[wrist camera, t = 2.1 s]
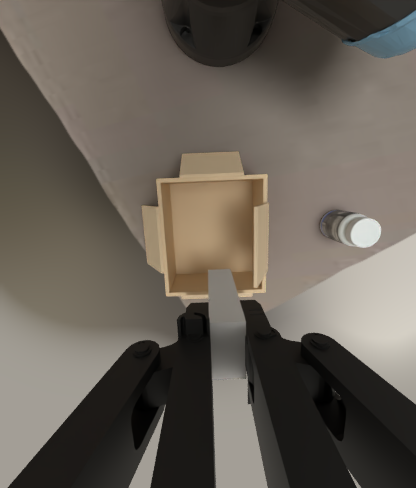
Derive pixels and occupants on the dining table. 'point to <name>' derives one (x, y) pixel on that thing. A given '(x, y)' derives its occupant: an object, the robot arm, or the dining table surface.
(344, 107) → the dining table surface
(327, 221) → the pill bottle
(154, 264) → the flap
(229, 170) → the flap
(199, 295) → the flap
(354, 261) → the dining table surface
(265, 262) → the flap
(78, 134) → the dining table surface
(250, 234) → the carton
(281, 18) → the dining table surface
